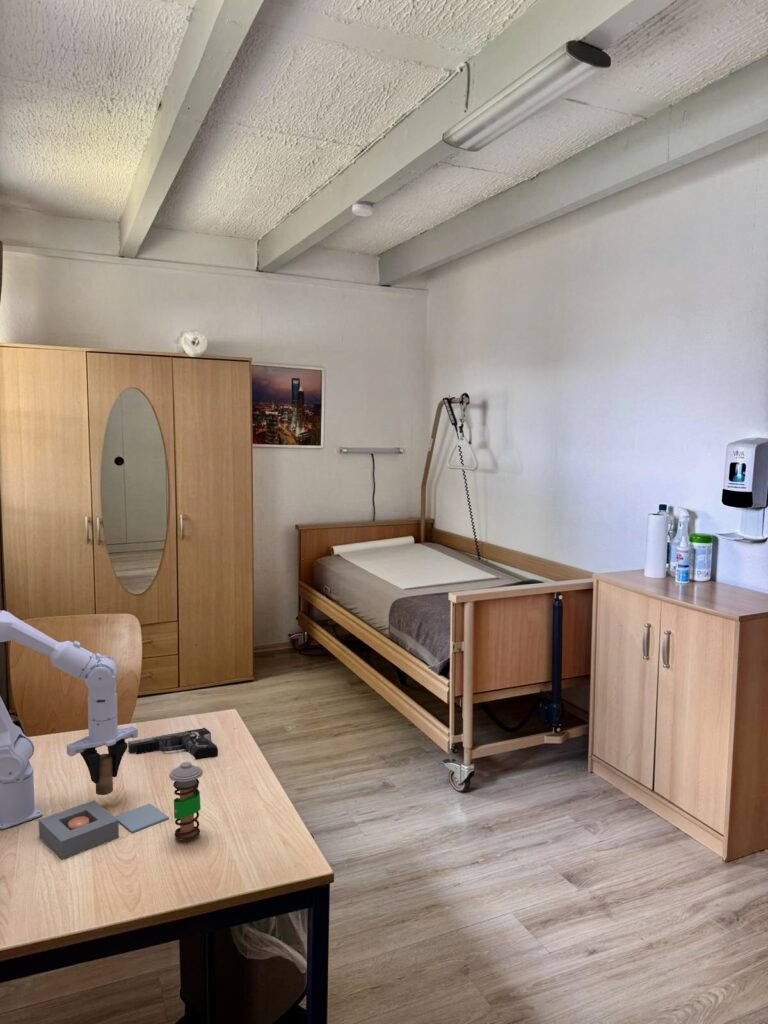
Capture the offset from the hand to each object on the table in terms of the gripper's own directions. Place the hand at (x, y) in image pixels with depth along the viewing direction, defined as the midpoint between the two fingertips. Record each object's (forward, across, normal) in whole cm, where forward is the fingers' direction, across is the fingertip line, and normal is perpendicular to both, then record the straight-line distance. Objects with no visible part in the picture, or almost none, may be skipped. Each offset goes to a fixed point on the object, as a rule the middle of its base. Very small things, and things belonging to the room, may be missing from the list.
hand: (104, 778), depth 155 cm
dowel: (+3, 0, 0) cm, 3 cm away
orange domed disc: (+4, -9, -8) cm, 13 cm away
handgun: (+7, +24, +15) cm, 29 cm away
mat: (+6, +3, -10) cm, 12 cm away
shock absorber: (+6, +6, -23) cm, 25 cm away
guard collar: (+6, -9, -8) cm, 13 cm away
